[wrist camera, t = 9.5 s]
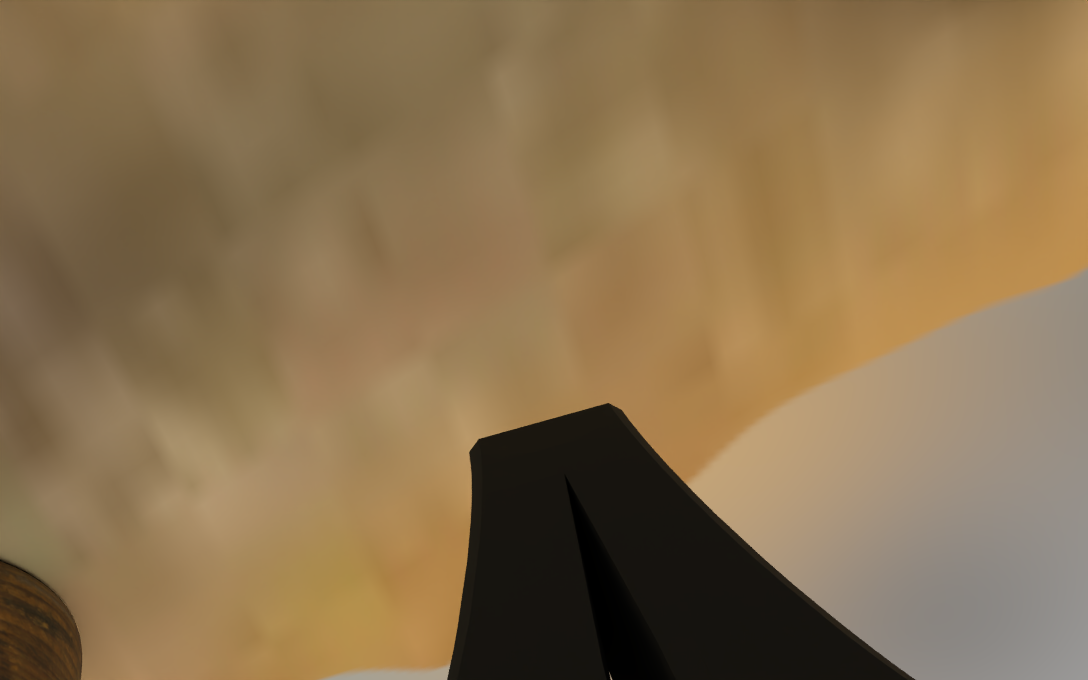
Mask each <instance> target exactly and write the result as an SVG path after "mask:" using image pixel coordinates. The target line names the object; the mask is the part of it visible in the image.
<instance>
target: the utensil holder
mask: <svg viewBox="0 0 1088 680" xmlns="http://www.w3.org/2000/svg"><path fill="white" fill-rule="evenodd" d="M81 670H82V647H81V640H80V635H79V632H78V629H77V626H76V623H75V621H74V619H73V617H72V615H71V613H70V612H69V610H68V609H67V607H66V606H65V605H64V603H63V602H62V601H61V600H60V599H59V597H58V596H57V595H56V594H55V593H53V592H52V591H51V590H50V589H49V588H48V587H47V586H45V585H44V584H43V583H41V582H40V581H38V580H37V579H35V578H34V577H32V576H31V575H29V574H27V573H25V572H23V571H21V570H19V569H17V568H15V567H13V566H10V565H8V564H6V563H3V562H0V680H81Z"/></svg>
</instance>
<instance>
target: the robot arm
mask: <svg viewBox="0 0 1088 680" xmlns="http://www.w3.org/2000/svg"><path fill="white" fill-rule="evenodd" d="M469 454H470V462H471V472H472V509H471V526H470V537H469V548H468V559H467V567H466V574H465V580H464V587H463V594H462V601H461V608H460V615H459V622H458V629H457V634H456V640H455V645H454V651H453V655H452V660H451V665H450V669H449V674H448V679H447V680H611V679H610V675H611V677H612V680H915V679H914V678H912V677H911V676H909V675H908V674H906V673H905V672H904V671H902V670H901V669H899V668H898V667H897V666H895V665H894V664H892V663H891V662H890V661H889V660H887V659H886V658H884V657H883V656H882V655H881V654H879V653H878V652H877V651H875V650H874V649H873V648H871V647H870V646H869V645H868V644H866V643H865V642H864V641H862V640H861V639H860V638H859V637H857V636H856V635H855V634H853V633H852V632H851V631H850V630H848V629H847V628H846V627H844V626H843V625H842V624H841V623H839V622H838V621H837V620H836V619H835V618H833V617H832V616H831V615H830V614H828V613H827V612H826V611H825V610H824V609H822V608H821V607H820V606H819V605H817V604H816V603H815V602H814V601H812V600H811V599H810V598H809V597H808V596H807V595H805V594H804V593H803V592H802V591H800V590H799V589H798V588H797V587H796V586H794V585H793V584H792V583H791V582H790V581H789V580H787V579H786V578H785V577H784V576H783V575H782V574H781V573H779V572H778V571H777V570H776V569H775V568H774V567H773V566H771V565H770V564H769V563H768V562H767V561H766V560H765V559H764V558H762V557H761V556H760V555H759V554H758V553H757V552H756V551H755V550H754V549H753V548H752V547H750V545H748V544H747V543H746V542H745V541H744V540H743V539H742V538H741V537H740V536H739V535H738V534H737V533H735V532H734V531H733V530H732V529H731V528H730V527H729V526H728V525H727V524H726V523H725V522H724V521H723V520H721V519H720V518H719V517H718V516H717V515H716V514H715V513H714V512H713V511H712V510H711V509H710V508H709V507H708V506H707V505H706V504H705V503H704V502H703V501H702V500H701V499H700V498H699V497H698V496H697V495H696V494H695V493H694V492H693V491H692V490H691V489H690V488H689V487H688V486H687V485H686V484H685V483H684V482H683V481H682V480H681V479H680V478H679V476H678V475H677V474H676V473H675V472H674V471H673V470H672V469H671V468H670V467H669V466H668V465H667V464H666V463H665V462H664V461H663V459H662V458H661V457H660V456H659V455H658V454H657V453H656V452H655V451H654V449H653V448H652V447H651V446H650V445H649V444H648V443H647V441H646V440H645V439H644V438H643V437H642V435H641V434H640V433H639V432H638V431H637V429H636V428H635V427H634V426H633V424H632V423H631V422H630V421H629V419H628V418H627V417H626V415H625V414H624V413H623V411H622V410H621V409H619V408H617V407H615V406H613V405H611V404H609V403H607V404H603V405H600V406H596V407H593V408H589V409H585V410H582V411H578V412H575V413H571V414H567V415H564V416H560V417H557V418H553V419H549V420H546V421H542V422H539V423H535V424H531V425H528V426H524V427H521V428H517V429H513V430H510V431H506V432H503V433H499V434H495V435H492V436H488V437H485V438H481V439H479V440H478V441H477V442H476V444H475V445H474V446H473V448H472V449H471V450H470V452H469ZM609 673H610V674H609Z"/></svg>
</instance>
